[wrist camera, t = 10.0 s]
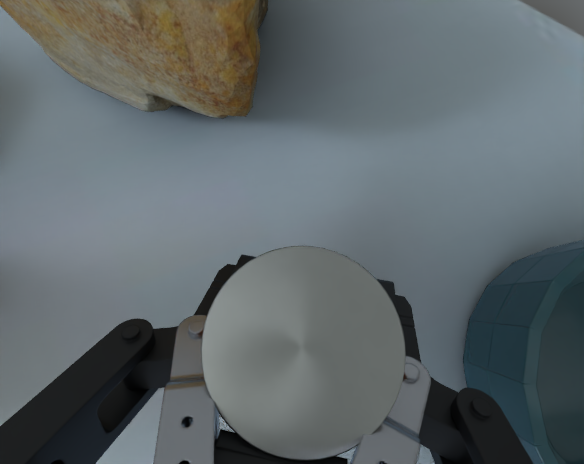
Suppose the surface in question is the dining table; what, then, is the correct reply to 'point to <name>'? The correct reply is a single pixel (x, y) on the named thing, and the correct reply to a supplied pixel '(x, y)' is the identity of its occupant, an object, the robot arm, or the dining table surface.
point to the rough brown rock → (153, 49)
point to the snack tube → (303, 353)
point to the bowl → (534, 351)
